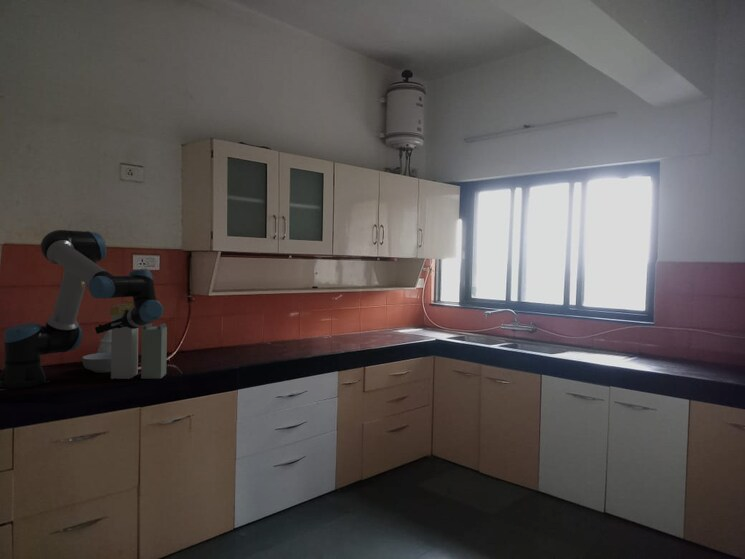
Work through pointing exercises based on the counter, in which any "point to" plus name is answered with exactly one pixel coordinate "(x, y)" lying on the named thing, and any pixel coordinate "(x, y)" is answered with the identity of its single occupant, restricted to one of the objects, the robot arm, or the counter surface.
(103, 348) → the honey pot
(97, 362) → the cereal bowl
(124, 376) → the block
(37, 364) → the robot arm
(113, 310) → the brass pin
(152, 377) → the upright grey pillar
